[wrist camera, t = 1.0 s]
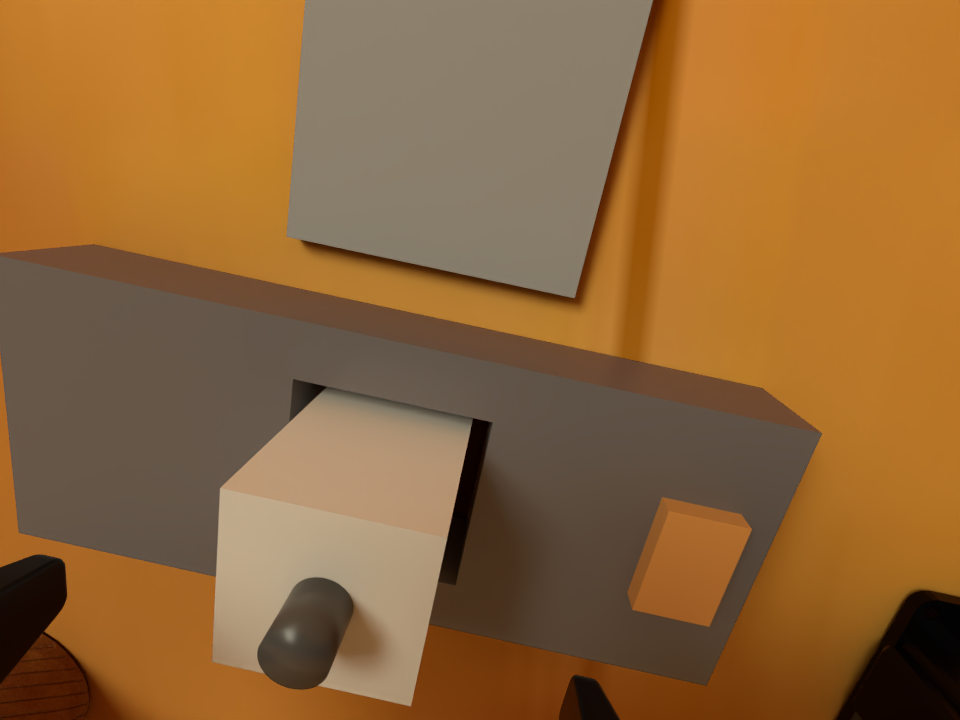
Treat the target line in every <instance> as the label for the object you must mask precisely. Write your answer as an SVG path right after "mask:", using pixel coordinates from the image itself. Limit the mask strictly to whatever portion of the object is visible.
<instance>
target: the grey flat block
mask: <svg viewBox="0 0 960 720" xmlns="http://www.w3.org/2000/svg"><path fill="white" fill-rule="evenodd" d="M0 352H1V362H2V372H3V381H4V391H5V401H6V411H7V421H8V430H9V440H10V450H11V460H12V469H13V479H14V489H15V499H16V509H17V518H18V528H19V533H22V534H27V535H31V536H36V537H40V538H45V539H49V540H54V541H58V542H63V543H67V544H72V545H76V546H81V547H85V548H90V549H94V550H99V551H103V552H108V553H112V554H117V555H121V556H126V557H130V558H135V559H139V560H144V561H148V562H153V563H157V564H162V565H166V566H171V567H175V568H179V569H184V570H188V571H193V572H197V573H202V574H206V575H211V576H215V577H216V566H217V544H218V522H219V500H220V488H221V487H222V486H223V485H224V484H225V483H226V482H227V481H228V480H229V479H230V478H231V477H232V476H233V475H234V474H235V473H236V472H238V471H239V470H240V469H241V468H242V467H243V466H244V465H245V464H246V463H247V462H248V461H249V460H250V459H251V458H252V457H253V456H254V455H256V454H257V453H258V452H259V451H260V450H261V449H262V448H263V447H264V446H265V445H266V444H267V443H268V442H269V441H270V440H271V439H272V438H273V437H275V436H276V435H277V434H278V433H279V432H280V431H281V430H282V429H283V428H284V427H285V426H286V425H287V424H288V423H289V422H290V421H291V420H293V419H294V418H295V417H296V416H297V415H298V414H299V413H300V412H301V411H302V410H303V409H304V408H305V407H306V406H307V405H308V404H309V403H310V402H312V401H313V400H314V399H315V398H316V397H317V396H318V395H319V394H320V393H321V392H322V391H323V390H324V389H325V388H326V387H332V388H337V389H341V390H346V391H350V392H355V393H360V394H364V395H369V396H373V397H378V398H383V399H387V400H392V401H396V402H401V403H406V404H410V405H415V406H419V407H424V408H429V409H433V410H438V411H443V412H447V413H452V414H456V415H461V416H466V417H470V418H475V419H479V420H484V421H489V424H488V428H487V432H486V437H485V441H484V446H483V450H482V454H481V459H480V463H479V468H478V472H477V476H476V481H475V485H474V490H473V494H472V499H471V503H470V507H469V512H468V516H467V520H465V519H460V518H456V517H452V518H451V523H450V528H449V532H448V537H447V542H446V546H445V551H444V556H443V560H442V565H441V569H440V574H439V579H438V583H437V588H436V593H435V597H434V602H433V607H432V611H431V616H430V620H429V624H431V625H436V626H440V627H445V628H449V629H454V630H458V631H463V632H467V633H471V634H476V635H480V636H485V637H489V638H494V639H498V640H503V641H507V642H512V643H516V644H521V645H525V646H530V647H534V648H539V649H543V650H548V651H552V652H557V653H561V654H566V655H570V656H575V657H579V658H584V659H588V660H593V661H597V662H602V663H606V664H611V665H615V666H620V667H624V668H629V669H633V670H638V671H642V672H647V673H651V674H656V675H660V676H665V677H669V678H674V679H678V680H683V681H687V682H692V683H696V684H701V685H705V686H707V684H708V681H709V679H710V677H711V675H712V673H713V671H714V668H715V666H716V664H717V662H718V660H719V657H720V655H721V653H722V651H723V649H724V647H725V644H726V642H727V640H728V638H729V636H730V633H731V631H732V629H733V627H734V625H735V623H736V620H737V618H738V616H739V614H740V612H741V609H742V607H743V605H744V603H745V601H746V599H747V596H748V594H749V592H750V590H751V588H752V585H753V583H754V581H755V579H756V577H757V575H758V572H759V570H760V568H761V566H762V564H763V561H764V559H765V557H766V555H767V553H768V550H769V548H770V546H771V544H772V542H773V540H774V537H775V535H776V533H777V531H778V529H779V526H780V524H781V522H782V520H783V518H784V516H785V513H786V511H787V509H788V507H789V505H790V502H791V500H792V498H793V496H794V494H795V492H796V489H797V487H798V485H799V483H800V481H801V478H802V476H803V474H804V472H805V470H806V468H807V465H808V463H809V461H810V459H811V457H812V454H813V452H814V450H815V448H816V446H817V444H818V441H819V439H820V437H821V435H822V433H821V432H820V431H818V430H817V429H816V428H814V427H813V426H812V425H810V424H809V423H808V422H806V421H805V420H804V419H802V418H801V417H800V416H798V415H797V414H796V413H794V412H793V411H792V410H791V409H789V408H788V407H787V406H785V405H784V404H783V403H781V402H780V401H779V400H777V399H776V398H775V397H773V396H772V395H771V394H769V393H768V392H767V391H765V390H764V389H763V388H759V387H754V386H750V385H745V384H740V383H736V382H731V381H726V380H722V379H717V378H712V377H708V376H703V375H698V374H694V373H689V372H685V371H680V370H675V369H671V368H666V367H661V366H657V365H652V364H647V363H643V362H638V361H633V360H629V359H624V358H619V357H615V356H610V355H605V354H601V353H596V352H591V351H587V350H582V349H578V348H573V347H568V346H564V345H559V344H554V343H550V342H545V341H540V340H536V339H531V338H526V337H522V336H517V335H512V334H508V333H503V332H498V331H494V330H489V329H484V328H480V327H475V326H471V325H466V324H461V323H457V322H452V321H447V320H443V319H438V318H433V317H429V316H424V315H419V314H415V313H410V312H405V311H401V310H396V309H391V308H387V307H382V306H377V305H373V304H368V303H364V302H359V301H354V300H350V299H345V298H340V297H336V296H331V295H326V294H322V293H317V292H312V291H308V290H303V289H298V288H294V287H289V286H284V285H280V284H275V283H270V282H266V281H261V280H257V279H252V278H247V277H243V276H238V275H233V274H229V273H224V272H219V271H215V270H210V269H205V268H201V267H196V266H191V265H187V264H182V263H177V262H173V261H168V260H163V259H159V258H154V257H150V256H145V255H140V254H136V253H131V252H126V251H122V250H117V249H112V248H108V247H103V246H98V245H94V244H93V245H82V246H71V247H60V248H49V249H39V250H28V251H17V252H6V253H0Z"/></svg>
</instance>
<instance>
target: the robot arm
mask: <svg viewBox="0 0 960 720" xmlns="http://www.w3.org/2000/svg"><path fill="white" fill-rule="evenodd" d="M66 598H67V585H66V571H65V563H64V562H63V561H62V560H61V559H59V558H55V557H51V556H46V555H33V556H30V557H27V558H25V559H22V560H19V561H16V562H14V563H11V564H8V565H6V566H3V567H0V685H1V684H2V683H3V681H4V680H5V679H6V678H7V676H8V675H9V674H10V673H11V671H12V670H13V669H14V668H15V667H16V665H17V664H18V663H19V662H20V660H21V659H22V658H23V657H24V655H25V654H26V653H27V652H28V651H29V649H30V648H31V647H32V646H33V644H34V643H35V642H36V641H37V639H38V638H39V637H40V636H41V635H42V633H43V632H44V631H45V630H46V628H47V627H48V626H49V625H50V623H51V622H52V621H53V620H54V619H55V617H56V616H57V615H58V614H59V612H60V611H61V609H62V608H63V606H64V604H65V602H66ZM559 720H620V719H619V717H618V715H617V714H616V712H615V710H614V708H613V707H612V705H611V703H610V702H609V700H608V698H607V696H606V695H605V693H604V691H603V689H602V688H601V686H600V684H599V683H598V682H597V681H596V680H595V679H592V678H587V677H583V676H578V675H574V676H573V677H572V678H571V680H570V682H569V685H568V688H567V691H566V694H565V697H564V700H563V703H562V706H561V709H560V714H559ZM837 720H960V597H955V596H950V595H946V594H941V593H937V592H932V591H919V592H916V593H914V594H912V595H911V596H910V597H909V598H908V599H907V600H906V602H905V604H904V606H903V607H902V609H901V611H900V612H899V614H898V616H897V618H896V619H895V621H894V623H893V624H892V626H891V628H890V630H889V631H888V633H887V635H886V636H885V638H884V640H883V642H882V643H881V645H880V647H879V648H878V650H877V652H876V654H875V655H874V657H873V659H872V660H871V662H870V664H869V666H868V667H867V669H866V671H865V672H864V674H863V676H862V678H861V679H860V681H859V683H858V684H857V686H856V688H855V690H854V691H853V693H852V695H851V696H850V698H849V700H848V702H847V703H846V705H845V707H844V708H843V710H842V712H841V714H840V715H839V717H838V719H837Z"/></svg>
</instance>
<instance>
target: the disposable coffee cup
mask: <svg viewBox="0 0 960 720" xmlns="http://www.w3.org/2000/svg"><path fill="white" fill-rule="evenodd" d="M89 699H90V698H89V692H88V686H87V683H86V680H85V678H84V675H83V674H82V672H81V671H80V669H79V667H78V666H77V664H76V663H75V661H74V660H73V659H72V658H71V657H70V656H69V655H68V654H67V652H66V651H65V650H64V649H62V648H61V647H60V646H59V645H58V644H57V643H56V642H55V641H53V640H51V639H50V638H48V637H47V636H45V635H44V634H42V635H41V636H40V637H39V638H38V639H37V641H36V642H35V643H34V644H33V646H32V647H31V648H30V649H29V651H28V652H27V653H26V654H25V655H24V657H23V658H22V659H21V660H20V662H19V663H18V664H17V665H16V667H15V668H14V669H13V670H12V671H11V673H10V674H9V675H8V676H7V678H6V679H5V680H4V681H3V683H2V684H1V685H0V720H83V719H84V717H85V715H86V713H87V711H88V707H89Z"/></svg>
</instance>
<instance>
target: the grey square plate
mask: <svg viewBox="0 0 960 720" xmlns="http://www.w3.org/2000/svg"><path fill="white" fill-rule="evenodd" d="M652 2H653V0H305V11H304V23H303V36H302V49H301V61H300V74H299V87H298V100H297V112H296V125H295V138H294V150H293V163H292V176H291V189H290V201H289V214H288V227H287V237H290V238H295V239H300V240H304V241H309V242H314V243H318V244H323V245H328V246H332V247H337V248H342V249H346V250H351V251H356V252H360V253H365V254H370V255H375V256H379V257H384V258H389V259H393V260H398V261H403V262H407V263H412V264H417V265H421V266H426V267H431V268H435V269H440V270H445V271H449V272H454V273H459V274H463V275H468V276H473V277H477V278H482V279H487V280H491V281H496V282H501V283H506V284H510V285H515V286H520V287H524V288H529V289H534V290H538V291H543V292H548V293H552V294H557V295H562V296H566V297H571V298H575V295H576V291H577V287H578V284H579V280H580V276H581V272H582V268H583V265H584V261H585V257H586V253H587V249H588V246H589V242H590V238H591V234H592V230H593V227H594V223H595V219H596V215H597V211H598V207H599V204H600V200H601V196H602V192H603V188H604V185H605V181H606V177H607V173H608V169H609V166H610V162H611V158H612V154H613V150H614V147H615V143H616V139H617V135H618V131H619V128H620V124H621V120H622V116H623V112H624V109H625V105H626V101H627V97H628V93H629V90H630V86H631V82H632V78H633V74H634V71H635V67H636V63H637V59H638V55H639V52H640V48H641V44H642V40H643V36H644V33H645V29H646V25H647V21H648V17H649V14H650V10H651V6H652Z"/></svg>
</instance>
